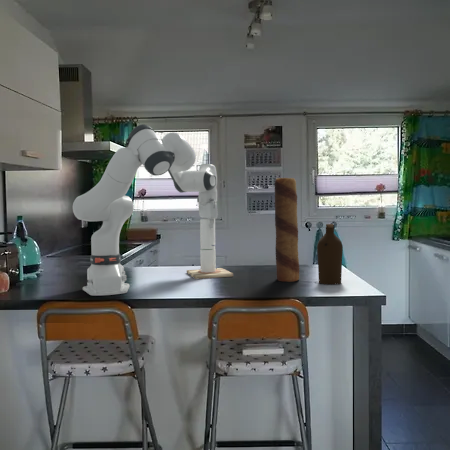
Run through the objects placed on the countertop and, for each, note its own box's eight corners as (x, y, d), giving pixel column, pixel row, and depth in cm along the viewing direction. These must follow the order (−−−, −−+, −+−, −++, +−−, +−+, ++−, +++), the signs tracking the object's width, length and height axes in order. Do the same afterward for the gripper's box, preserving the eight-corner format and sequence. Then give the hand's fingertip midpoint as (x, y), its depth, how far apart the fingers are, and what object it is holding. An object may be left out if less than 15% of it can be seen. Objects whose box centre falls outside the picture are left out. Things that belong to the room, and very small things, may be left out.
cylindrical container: (218, 271, 224) (218, 219, 223) (207, 272, 219) (207, 219, 218) (208, 269, 229) (207, 218, 228) (197, 271, 224) (197, 219, 223)
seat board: (233, 276, 219) (233, 272, 219) (195, 279, 214) (195, 275, 213) (221, 270, 236) (221, 267, 236) (186, 273, 231) (186, 269, 231)
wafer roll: (270, 280, 207) (269, 178, 205) (284, 277, 215) (283, 178, 213) (289, 283, 200) (288, 177, 198) (303, 279, 208) (303, 177, 206)
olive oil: (345, 284, 194) (345, 224, 193) (319, 285, 194) (319, 225, 193) (339, 280, 205) (339, 223, 203) (315, 280, 205) (314, 223, 204)
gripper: (220, 198, 214) (221, 228, 215) (208, 198, 233) (209, 226, 234) (207, 198, 212) (208, 229, 213) (196, 198, 231) (196, 226, 232)
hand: (208, 227), depth 224 cm, fingers closed on cylindrical container, 7 cm apart
